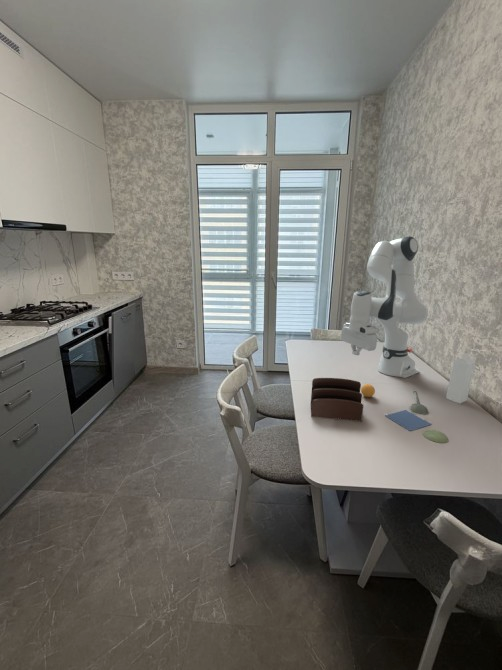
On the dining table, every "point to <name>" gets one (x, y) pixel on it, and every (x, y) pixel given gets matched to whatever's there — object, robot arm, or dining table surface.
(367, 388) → the ball
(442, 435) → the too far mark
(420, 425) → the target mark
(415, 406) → the soupspoon
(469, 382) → the milk
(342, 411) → the letter holder
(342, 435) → the dining table surface
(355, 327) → the robot arm
